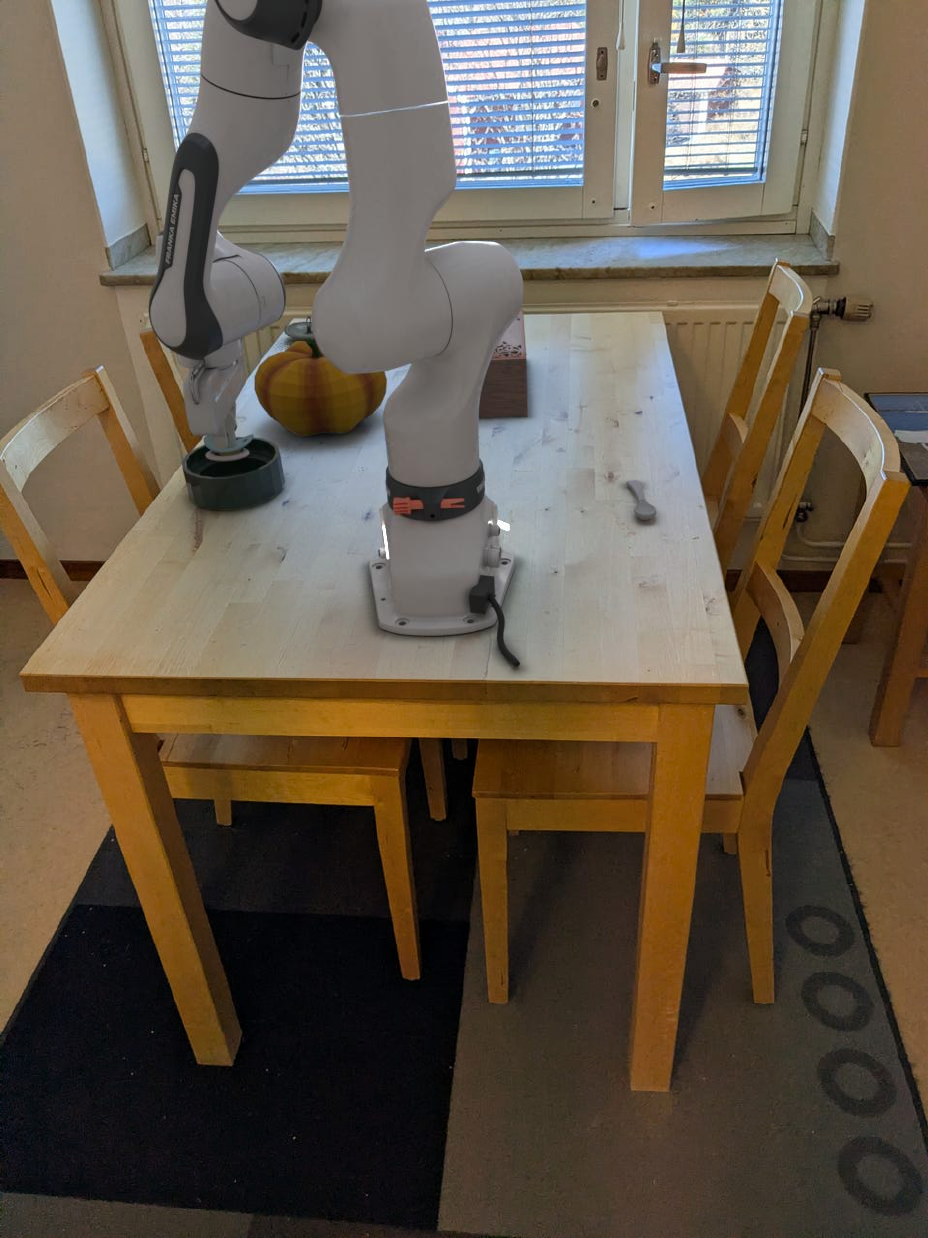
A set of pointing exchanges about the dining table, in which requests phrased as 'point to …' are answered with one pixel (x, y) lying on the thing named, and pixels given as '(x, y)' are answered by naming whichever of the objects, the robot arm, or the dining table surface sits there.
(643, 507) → the spoon
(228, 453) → the pacifier
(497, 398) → the tissue box cover
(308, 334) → the lid
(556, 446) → the dining table surface
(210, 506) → the bowl
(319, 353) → the decorative pumpkin
